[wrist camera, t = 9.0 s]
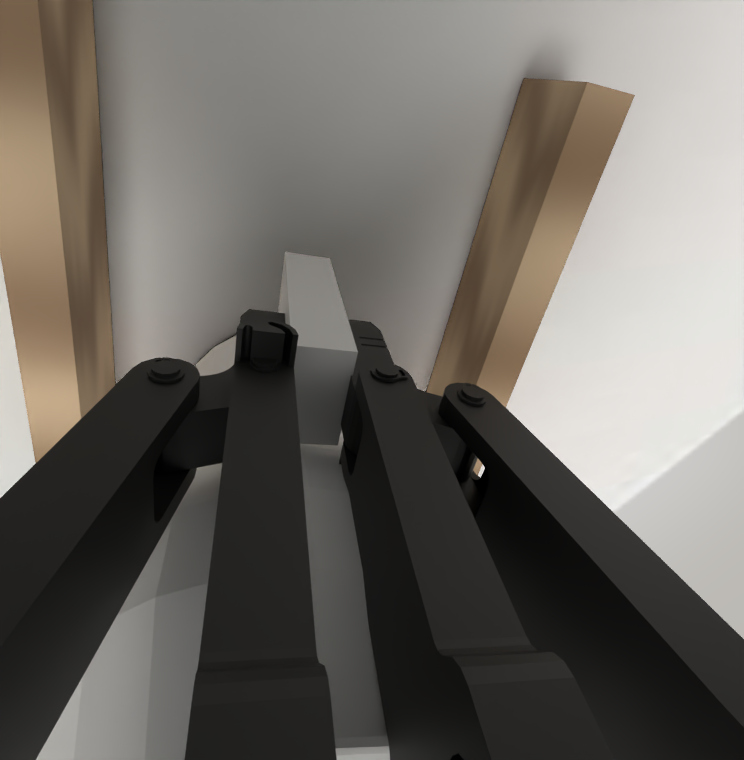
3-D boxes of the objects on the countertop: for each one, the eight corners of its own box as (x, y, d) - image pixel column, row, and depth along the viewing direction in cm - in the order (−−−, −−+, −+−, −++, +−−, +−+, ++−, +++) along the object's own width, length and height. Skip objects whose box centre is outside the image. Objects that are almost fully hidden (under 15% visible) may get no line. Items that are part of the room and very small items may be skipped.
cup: (108, 311, 18) (-239, 844, 6) (392, 277, 19) (608, 661, 7) (184, 511, 24) (91, 995, 12) (399, 476, 25) (526, 881, 13)
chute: (25, -56, 13) (-59, -97, 10) (563, 88, 17) (634, 95, 14) (86, 502, 23) (55, 578, 19) (416, 510, 27) (436, 573, 24)
